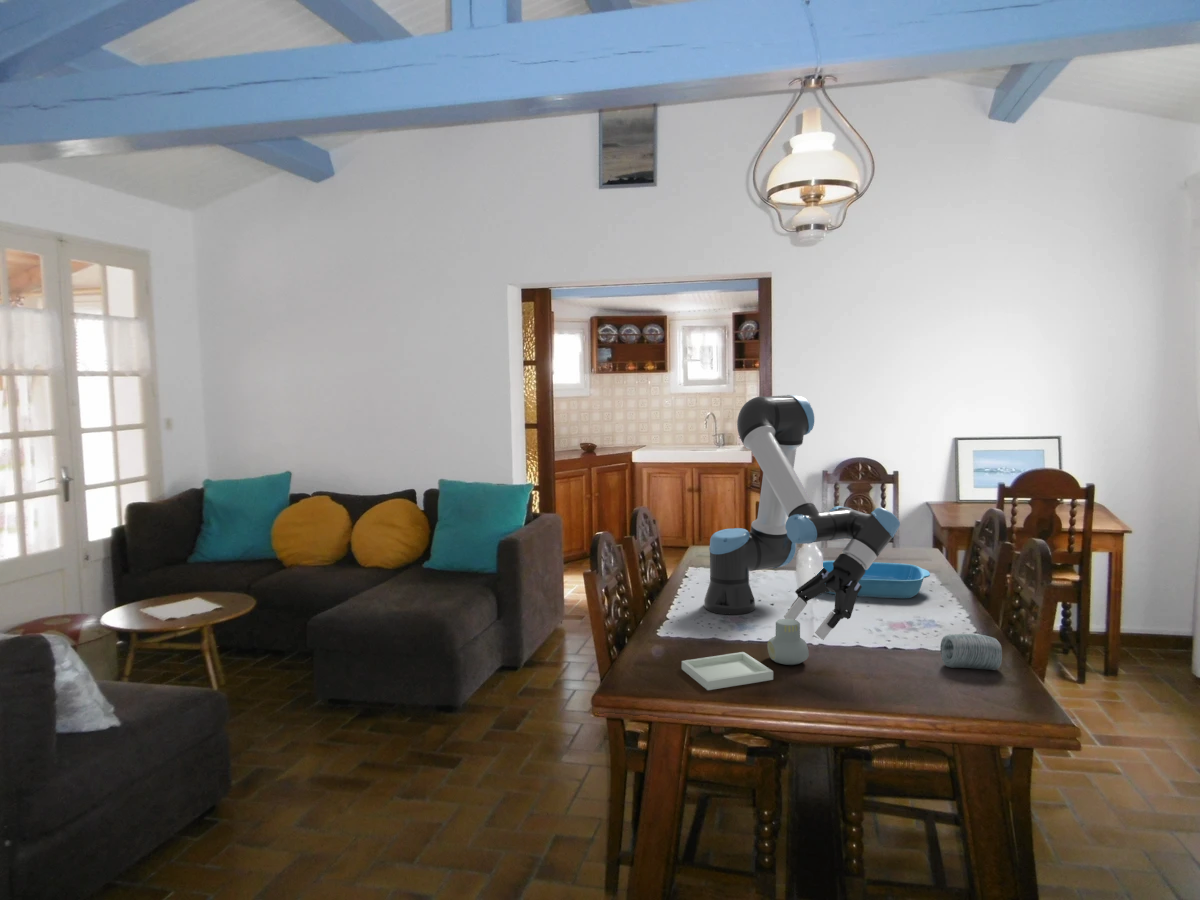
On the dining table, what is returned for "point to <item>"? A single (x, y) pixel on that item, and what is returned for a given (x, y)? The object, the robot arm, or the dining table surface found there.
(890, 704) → the dining table surface
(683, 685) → the dining table surface
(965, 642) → the spool
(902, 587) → the casserole dish
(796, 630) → the air freshener
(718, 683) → the sage tray
